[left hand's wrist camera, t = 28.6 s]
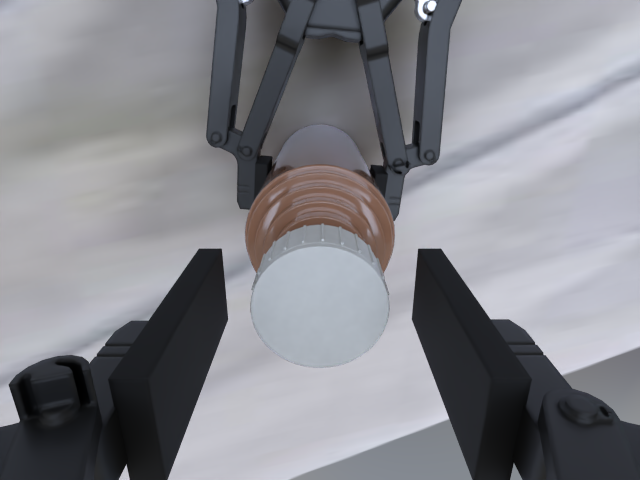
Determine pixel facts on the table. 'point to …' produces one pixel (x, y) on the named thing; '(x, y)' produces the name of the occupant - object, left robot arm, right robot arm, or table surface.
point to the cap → (319, 297)
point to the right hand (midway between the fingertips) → (313, 257)
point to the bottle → (319, 194)
